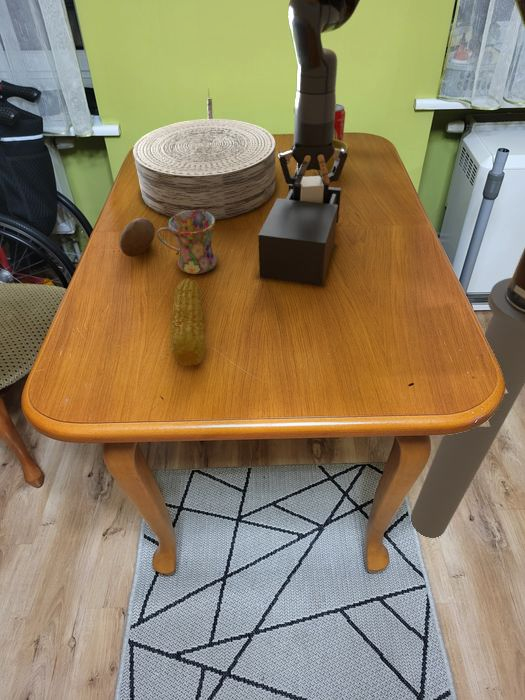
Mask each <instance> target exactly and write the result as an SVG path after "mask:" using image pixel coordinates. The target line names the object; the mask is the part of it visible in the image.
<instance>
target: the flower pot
mask: <svg viewBox="0 0 525 700" xmlns="http://www.w3.org/2000/svg"><path fill="white" fill-rule="evenodd" d="M333 146H334V148H337V149H340V148H344V149H345V151H346V153H347V154H348V147H349V146H348V144H347V143H346V142H344V141H343V142H342V141H340V140H335V139H333ZM334 163H335V158H334V154H333V155H332V157H331V158H330V159H329V161H328V162H327V163H326V168H327V172H328V174H329V173H331V171H332V168H333V166H334ZM314 172H315V173H316V176H320V177H321V178H322V176H321V172H320V170H314Z"/></svg>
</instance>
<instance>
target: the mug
mask: <svg viewBox="0 0 525 700" xmlns="http://www.w3.org/2000/svg"><path fill="white" fill-rule="evenodd" d="M215 224H216V219H215V218H214V216H213V215H212V214H210V213H208V212H206V211H202V210H188V211H183V212H180V213H178V214H176V215H174V216H173V217H171V218H170V219H169V221H168V227H167V226H163V227H160V228H159V229H158V230H157V232H156V233H157V237H158V239H159V241H160V242H161V243H162V244H163V245H164V246H165V247H167V248H169V249H171V250H173V251H174V252H175V251H176V253H175V255H176V256H179V257H178V259H177V266H178V268H179V269H180V271H182V272H184V273H187V274H191V275H199V274H204V273H206V272H209V271H212V270H213V269H214V268H215V267H216V266H217V263H218V258H217V255H216V254H215V253H214V251H213V247H212V233H213V229H214V226H215ZM162 231H168V232H170V233H171V234H172V235H173V237H174V238H175V239H176V241H177V244H178V248H177V247H175V246H172V245H171V244H169V243H168V242H166V241H165V240H164V239H163V238H162V236H161V235H160V233H161V232H162Z"/></svg>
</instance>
